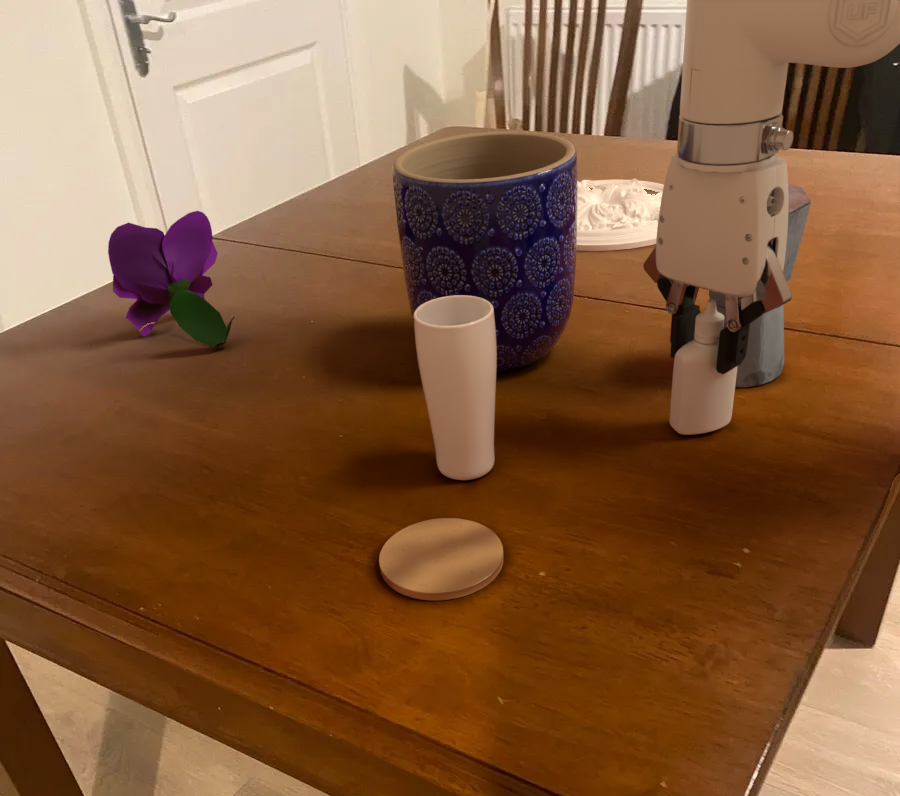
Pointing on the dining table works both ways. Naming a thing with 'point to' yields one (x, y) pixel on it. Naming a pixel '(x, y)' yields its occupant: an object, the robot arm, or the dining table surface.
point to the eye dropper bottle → (701, 380)
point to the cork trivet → (441, 559)
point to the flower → (168, 276)
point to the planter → (493, 231)
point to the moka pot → (769, 328)
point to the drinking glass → (459, 381)
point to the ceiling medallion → (617, 214)
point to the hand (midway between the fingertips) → (706, 358)
